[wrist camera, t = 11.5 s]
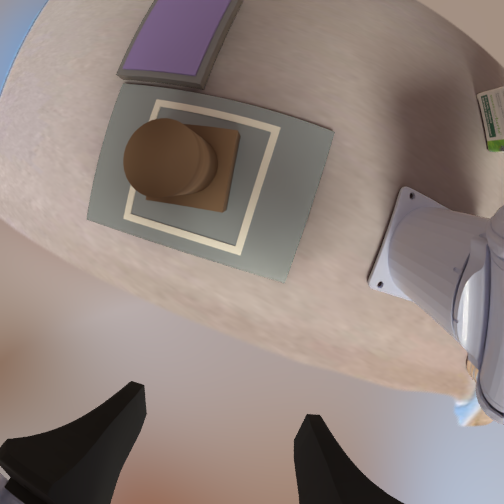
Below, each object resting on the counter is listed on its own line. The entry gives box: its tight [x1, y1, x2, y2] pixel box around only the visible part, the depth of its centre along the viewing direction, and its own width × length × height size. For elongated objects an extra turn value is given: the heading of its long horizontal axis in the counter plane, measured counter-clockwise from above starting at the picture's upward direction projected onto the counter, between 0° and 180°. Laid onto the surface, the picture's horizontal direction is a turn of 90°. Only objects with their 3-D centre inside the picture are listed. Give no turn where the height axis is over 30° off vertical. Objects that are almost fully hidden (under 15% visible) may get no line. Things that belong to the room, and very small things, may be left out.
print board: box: [87, 84, 335, 283], centre depth 18 cm, size 16×11×1 cm
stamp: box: [123, 118, 241, 213], centre depth 14 cm, size 5×5×7 cm
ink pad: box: [116, 0, 243, 89], centre depth 15 cm, size 7×9×1 cm
